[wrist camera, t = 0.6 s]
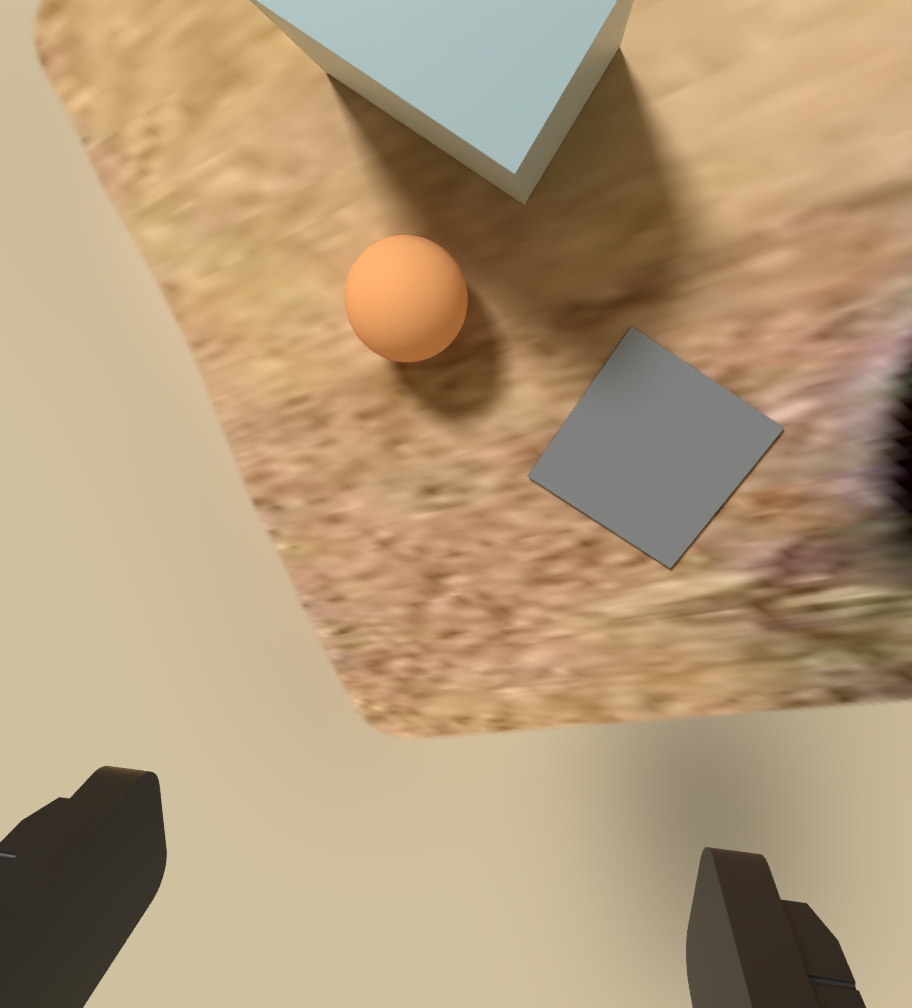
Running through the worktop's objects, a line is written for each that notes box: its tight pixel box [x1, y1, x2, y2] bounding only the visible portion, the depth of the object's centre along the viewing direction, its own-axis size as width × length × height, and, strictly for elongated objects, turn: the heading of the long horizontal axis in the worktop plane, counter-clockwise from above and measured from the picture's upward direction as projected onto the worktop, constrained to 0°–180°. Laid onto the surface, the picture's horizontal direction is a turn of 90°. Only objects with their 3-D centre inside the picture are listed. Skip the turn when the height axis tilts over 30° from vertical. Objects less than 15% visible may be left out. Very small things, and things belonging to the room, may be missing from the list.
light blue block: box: [250, 0, 633, 205], centre depth 25 cm, size 7×10×9 cm
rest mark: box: [528, 326, 784, 568], centre depth 32 cm, size 8×8×1 cm
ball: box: [345, 235, 468, 362], centre depth 29 cm, size 5×5×5 cm
